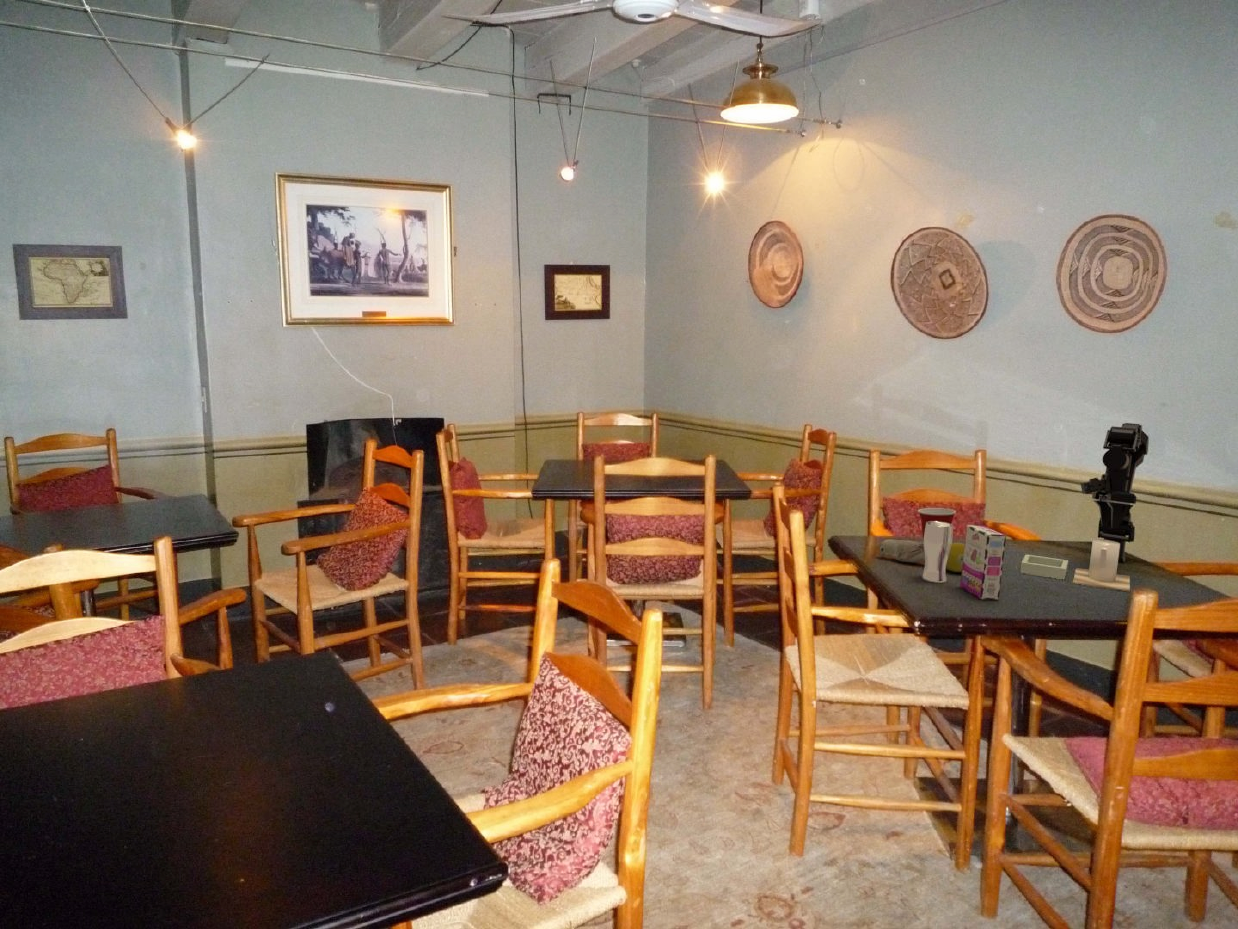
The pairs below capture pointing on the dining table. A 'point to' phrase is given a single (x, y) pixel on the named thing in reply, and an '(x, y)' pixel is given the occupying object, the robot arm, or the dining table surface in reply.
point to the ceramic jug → (1104, 560)
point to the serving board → (1083, 579)
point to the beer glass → (937, 550)
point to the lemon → (956, 557)
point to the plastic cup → (935, 516)
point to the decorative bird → (902, 550)
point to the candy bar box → (983, 562)
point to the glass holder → (1044, 566)
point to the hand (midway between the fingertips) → (1108, 527)
